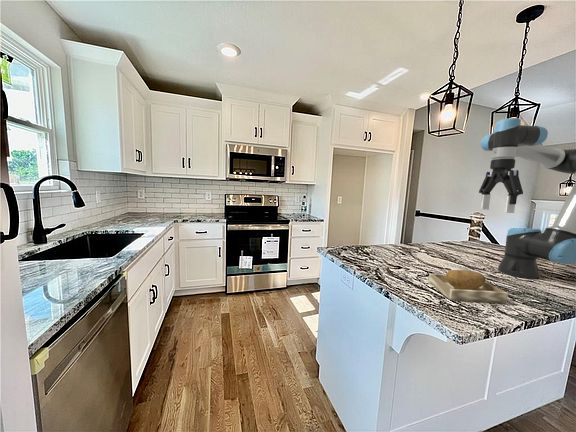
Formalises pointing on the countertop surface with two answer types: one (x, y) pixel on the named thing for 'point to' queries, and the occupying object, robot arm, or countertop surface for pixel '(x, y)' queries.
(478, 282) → the potato
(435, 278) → the tray
